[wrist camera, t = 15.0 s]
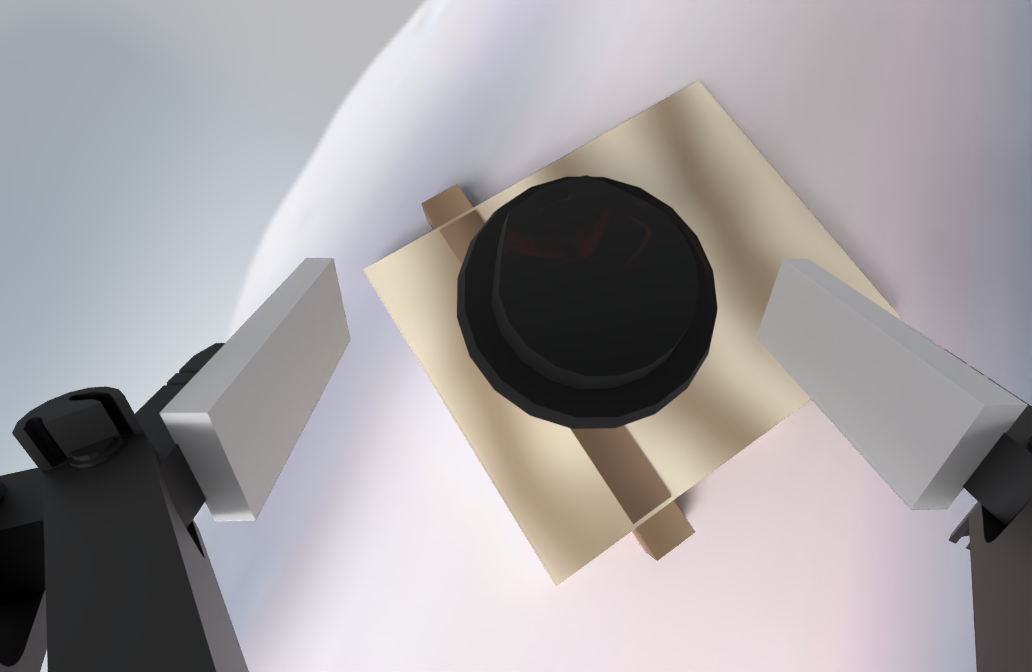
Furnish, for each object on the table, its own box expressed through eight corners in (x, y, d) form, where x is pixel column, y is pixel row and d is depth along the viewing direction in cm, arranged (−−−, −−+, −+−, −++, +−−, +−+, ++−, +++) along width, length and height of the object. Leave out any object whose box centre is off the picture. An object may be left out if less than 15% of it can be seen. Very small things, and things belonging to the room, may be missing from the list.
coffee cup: (659, 389, 20) (804, 338, 11) (520, 465, 19) (538, 488, 10) (581, 258, 22) (647, 105, 12) (447, 323, 21) (399, 216, 11)
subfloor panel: (671, 81, 26) (682, 58, 24) (903, 359, 23) (933, 353, 21) (357, 257, 23) (346, 243, 21) (571, 607, 20) (577, 622, 18)
